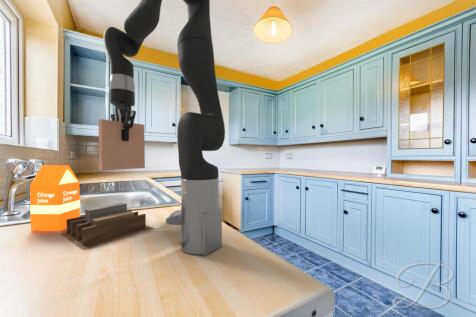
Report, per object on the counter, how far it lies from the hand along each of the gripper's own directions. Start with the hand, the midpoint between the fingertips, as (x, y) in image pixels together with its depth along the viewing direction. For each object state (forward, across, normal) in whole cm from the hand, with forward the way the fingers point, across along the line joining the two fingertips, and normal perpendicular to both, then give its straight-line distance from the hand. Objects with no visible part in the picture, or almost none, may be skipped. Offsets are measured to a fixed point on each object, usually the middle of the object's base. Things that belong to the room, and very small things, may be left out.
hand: (123, 141), depth 71 cm
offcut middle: (+27, -7, +8) cm, 29 cm away
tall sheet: (+10, 0, 0) cm, 10 cm away
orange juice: (+28, +9, +16) cm, 34 cm away
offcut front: (+27, -11, +8) cm, 30 cm away
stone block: (+29, -16, -12) cm, 35 cm away
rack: (+28, -8, +8) cm, 30 cm away
